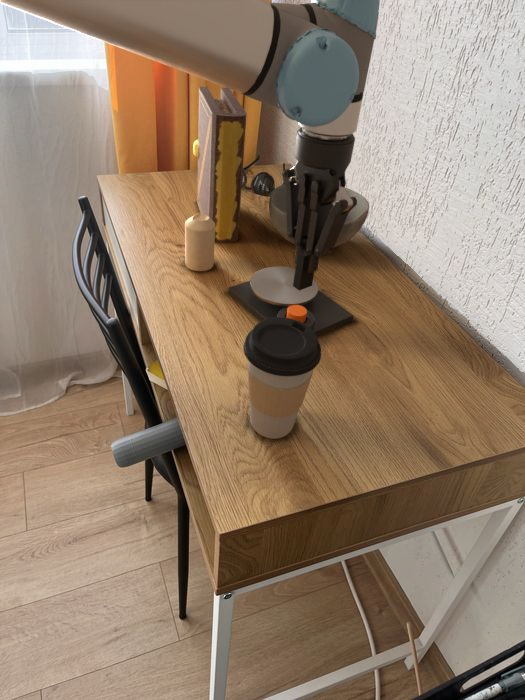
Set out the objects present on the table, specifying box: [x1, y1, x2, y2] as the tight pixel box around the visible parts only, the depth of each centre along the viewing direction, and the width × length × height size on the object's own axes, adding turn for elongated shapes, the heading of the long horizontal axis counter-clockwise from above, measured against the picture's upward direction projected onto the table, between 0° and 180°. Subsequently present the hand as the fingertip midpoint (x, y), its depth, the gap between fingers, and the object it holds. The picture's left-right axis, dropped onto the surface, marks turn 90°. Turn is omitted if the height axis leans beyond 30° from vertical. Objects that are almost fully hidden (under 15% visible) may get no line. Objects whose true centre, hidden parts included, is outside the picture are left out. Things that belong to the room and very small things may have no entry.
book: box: [192, 86, 248, 243], centre depth 110 cm, size 22×8×25 cm, turn 13°
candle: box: [184, 212, 216, 272], centre depth 99 cm, size 6×6×10 cm
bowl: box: [268, 184, 370, 248], centre depth 110 cm, size 20×20×10 cm
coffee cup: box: [242, 317, 322, 440], centre depth 67 cm, size 9×9×15 cm
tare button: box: [286, 305, 307, 323], centre depth 86 cm, size 3×3×2 cm
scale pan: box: [249, 266, 319, 307], centre depth 93 cm, size 12×12×1 cm
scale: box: [227, 280, 354, 337], centre depth 93 cm, size 18×14×3 cm
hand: (302, 285), depth 82 cm, fingers closed
